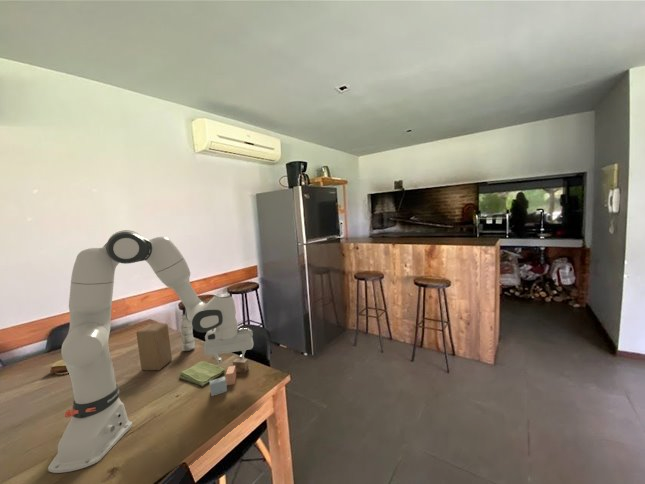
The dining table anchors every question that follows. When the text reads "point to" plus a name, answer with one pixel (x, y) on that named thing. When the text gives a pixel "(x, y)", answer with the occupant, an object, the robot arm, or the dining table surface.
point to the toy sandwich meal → (59, 368)
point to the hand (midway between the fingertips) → (231, 360)
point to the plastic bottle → (186, 334)
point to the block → (154, 346)
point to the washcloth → (201, 373)
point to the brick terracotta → (231, 375)
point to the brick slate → (218, 386)
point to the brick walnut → (241, 365)
